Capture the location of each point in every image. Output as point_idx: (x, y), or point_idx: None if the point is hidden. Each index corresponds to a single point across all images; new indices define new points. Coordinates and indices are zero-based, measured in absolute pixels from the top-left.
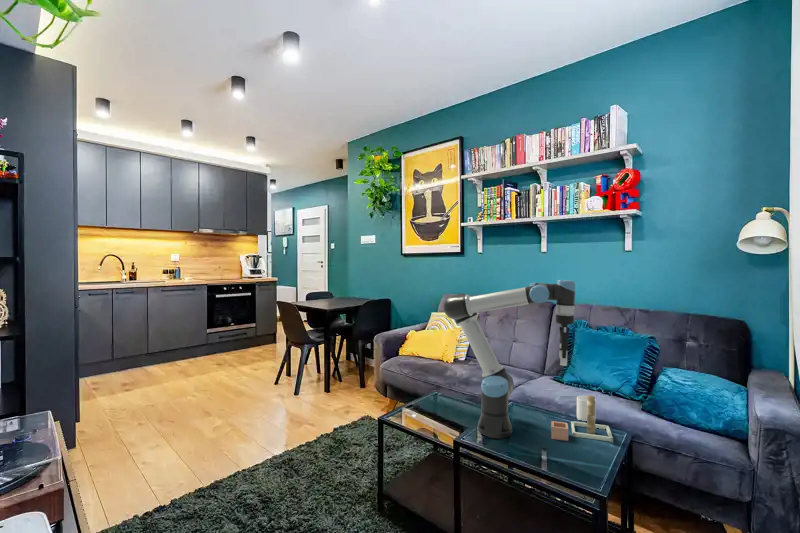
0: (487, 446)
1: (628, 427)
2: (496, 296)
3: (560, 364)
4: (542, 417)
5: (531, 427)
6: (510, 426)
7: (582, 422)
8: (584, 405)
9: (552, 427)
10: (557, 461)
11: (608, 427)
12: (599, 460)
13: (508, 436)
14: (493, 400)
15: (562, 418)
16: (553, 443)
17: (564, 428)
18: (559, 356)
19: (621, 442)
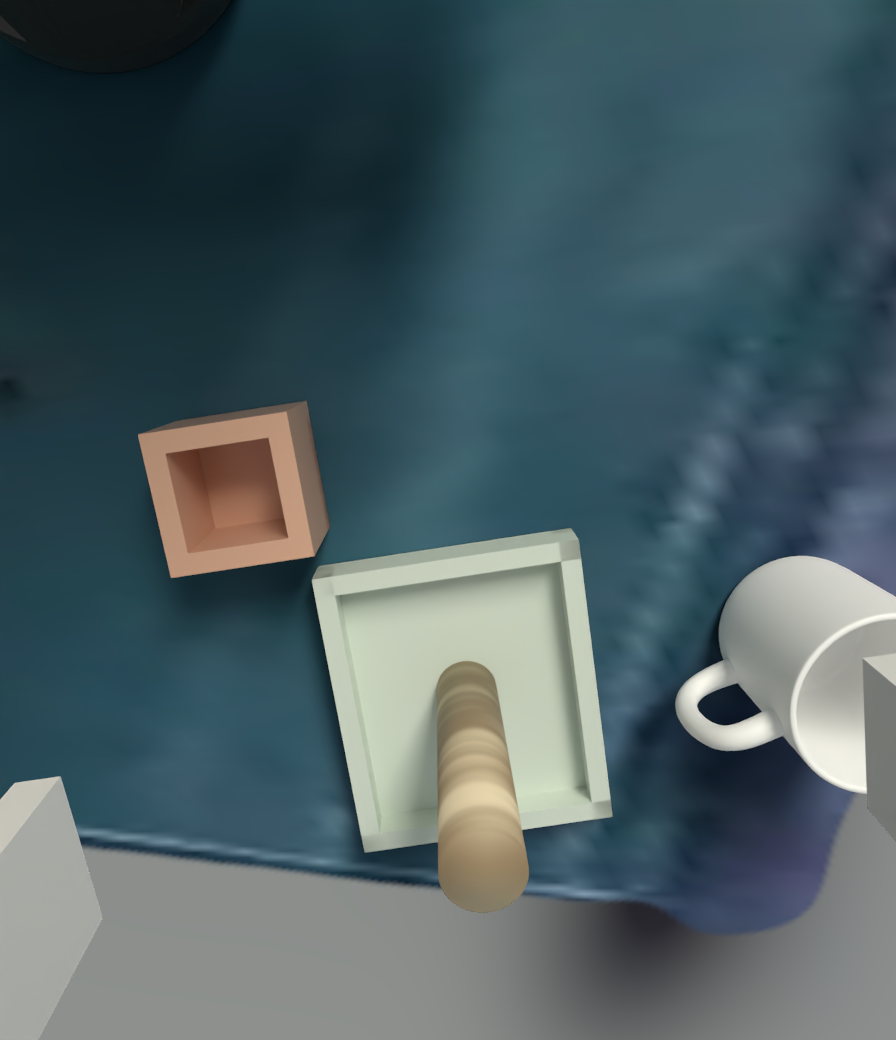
0: None
1: (753, 913)
2: None
3: (4, 800)
4: (677, 262)
5: (376, 210)
6: (66, 35)
7: (587, 630)
8: (772, 677)
9: (142, 442)
10: None
11: (572, 817)
12: (42, 758)
13: (32, 55)
14: None
15: (732, 439)
16: None
17: (165, 546)
18: (885, 680)
19: (430, 873)
